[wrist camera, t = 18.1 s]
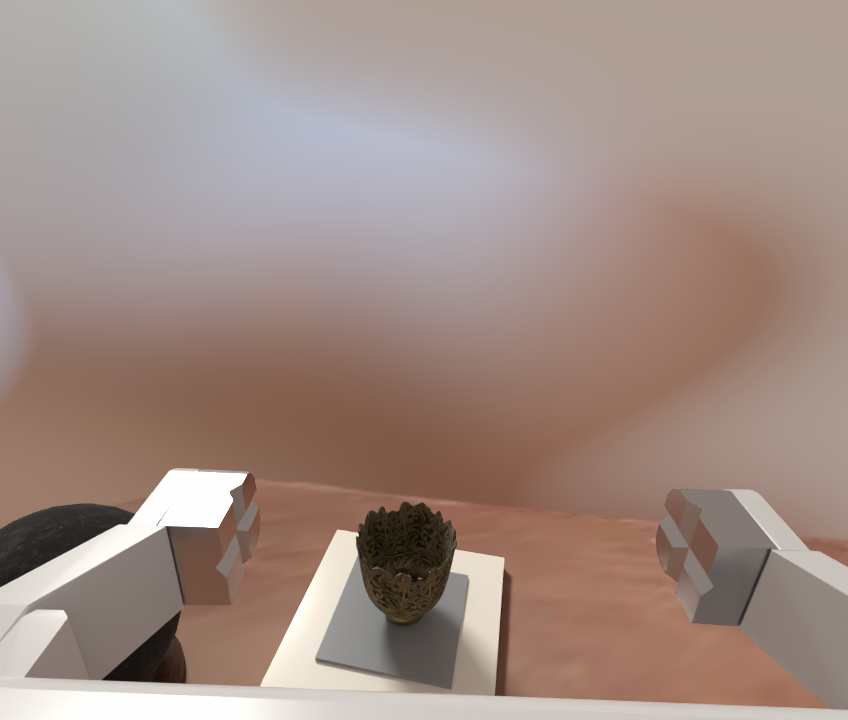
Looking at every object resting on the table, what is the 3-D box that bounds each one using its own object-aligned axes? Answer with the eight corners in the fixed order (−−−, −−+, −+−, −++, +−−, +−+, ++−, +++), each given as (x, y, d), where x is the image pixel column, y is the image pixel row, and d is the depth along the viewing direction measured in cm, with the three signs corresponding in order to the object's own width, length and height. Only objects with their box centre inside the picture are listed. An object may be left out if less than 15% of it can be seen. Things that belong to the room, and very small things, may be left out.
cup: (436, 567, 45) (440, 494, 42) (463, 641, 39) (471, 562, 35) (352, 582, 43) (349, 507, 40) (365, 663, 37) (363, 581, 34)
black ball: (-68, 851, 28) (-196, 669, 22) (19, 641, 39) (-49, 482, 33) (194, 768, 32) (149, 594, 26) (204, 598, 43) (174, 449, 37)
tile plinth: (503, 567, 47) (504, 555, 47) (489, 757, 33) (491, 742, 32) (337, 539, 50) (337, 527, 49) (258, 703, 36) (256, 689, 35)
